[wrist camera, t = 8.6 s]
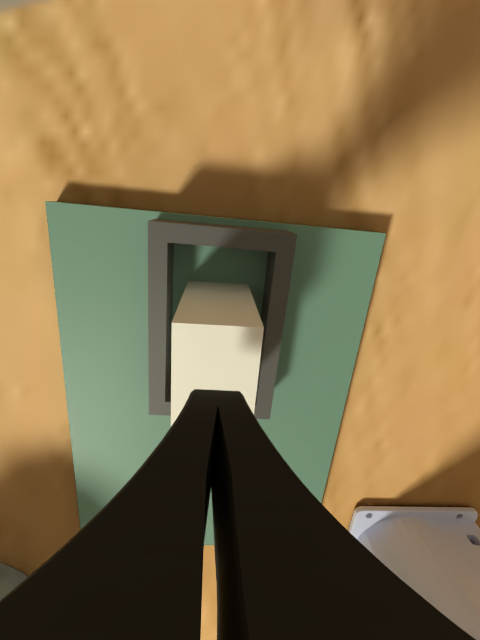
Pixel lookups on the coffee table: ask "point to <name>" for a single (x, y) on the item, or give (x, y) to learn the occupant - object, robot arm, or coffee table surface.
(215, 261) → the board
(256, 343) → the cream rectangular block
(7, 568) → the grey-green cup
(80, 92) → the coffee table surface
